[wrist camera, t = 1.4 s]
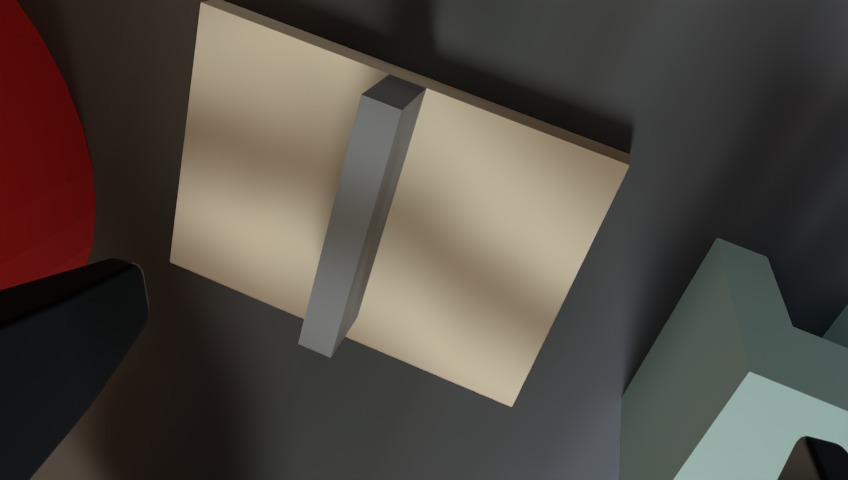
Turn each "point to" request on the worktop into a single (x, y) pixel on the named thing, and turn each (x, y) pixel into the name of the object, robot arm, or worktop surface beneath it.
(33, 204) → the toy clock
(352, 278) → the cleat board
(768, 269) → the block
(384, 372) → the worktop surface
